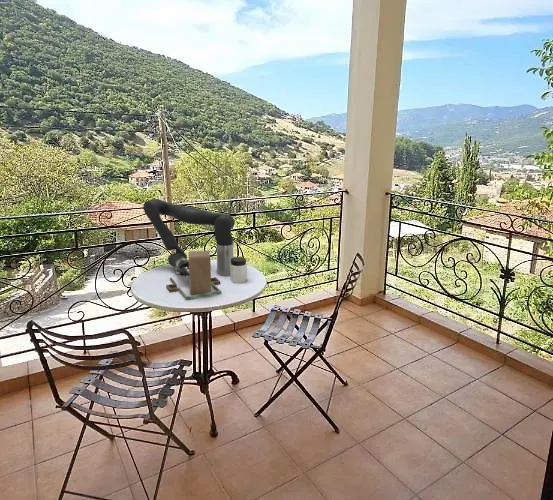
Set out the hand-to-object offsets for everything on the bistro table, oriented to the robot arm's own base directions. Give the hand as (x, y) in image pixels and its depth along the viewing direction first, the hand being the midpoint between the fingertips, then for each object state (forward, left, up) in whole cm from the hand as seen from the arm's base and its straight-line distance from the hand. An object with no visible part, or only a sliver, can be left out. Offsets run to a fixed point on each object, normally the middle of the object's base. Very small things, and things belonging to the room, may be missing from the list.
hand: (192, 276), depth 195 cm
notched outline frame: (-1, -2, -7) cm, 7 cm away
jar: (-25, -1, -7) cm, 26 cm away
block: (-2, +6, -7) cm, 9 cm away
